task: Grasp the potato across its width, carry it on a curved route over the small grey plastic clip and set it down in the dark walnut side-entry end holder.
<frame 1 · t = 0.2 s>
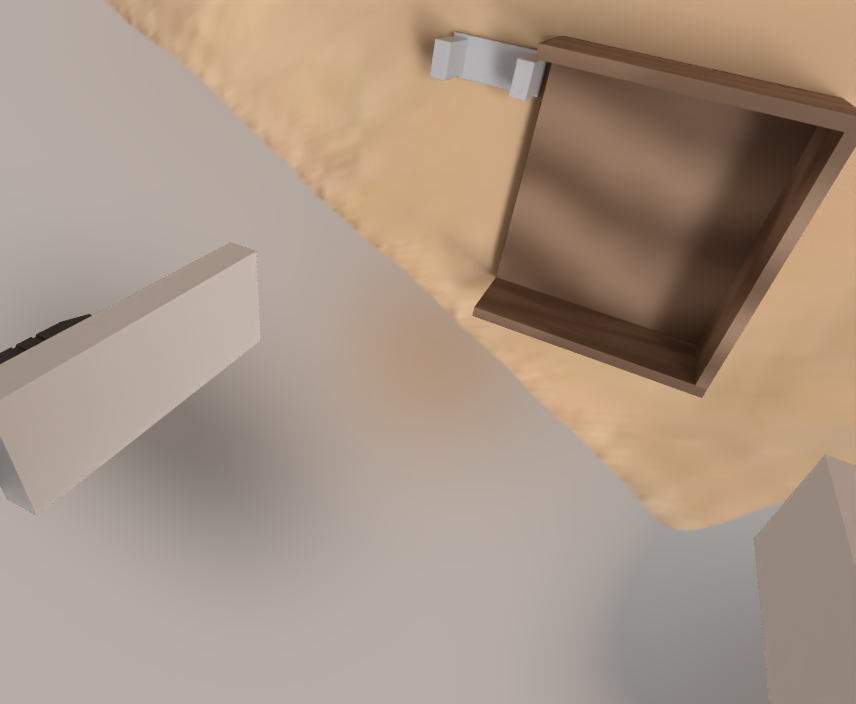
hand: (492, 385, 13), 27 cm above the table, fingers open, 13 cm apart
clip: (498, 63, 34), on the table
holder: (606, 196, 36), on the table
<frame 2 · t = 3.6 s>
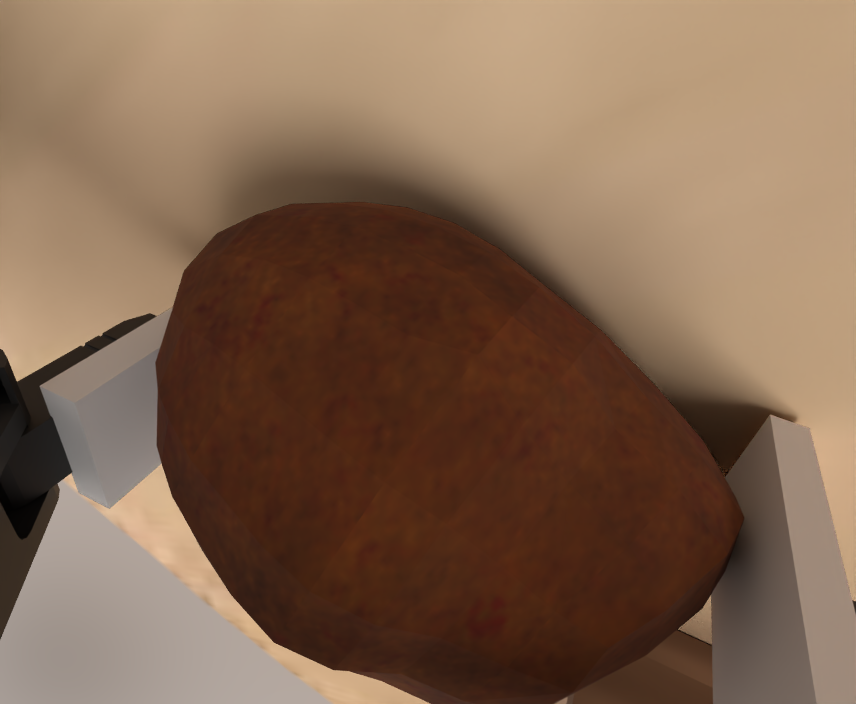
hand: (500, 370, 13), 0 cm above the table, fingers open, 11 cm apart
potato: (497, 355, 14), on the table
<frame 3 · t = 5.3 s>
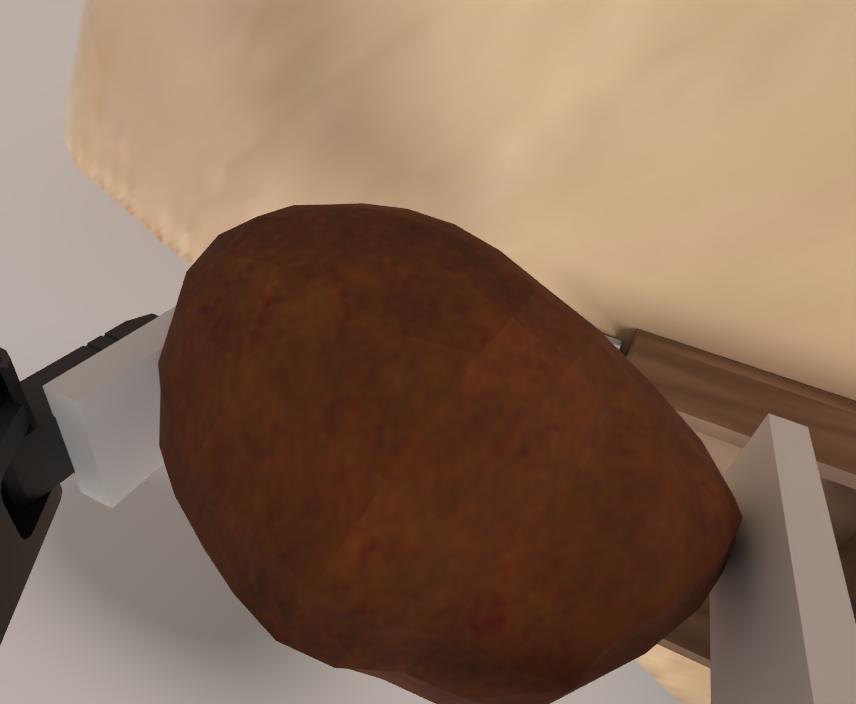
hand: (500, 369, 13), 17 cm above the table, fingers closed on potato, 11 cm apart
holder: (677, 468, 33), on the table
potato: (497, 356, 14), point 17 cm above the table, touching gripper
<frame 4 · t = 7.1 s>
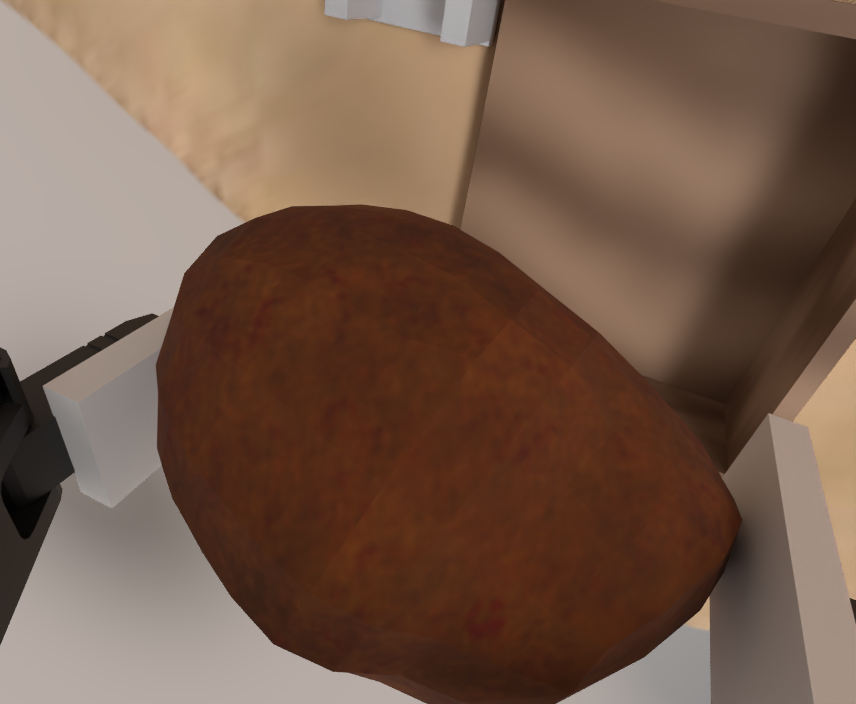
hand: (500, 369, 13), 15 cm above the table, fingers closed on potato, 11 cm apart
holder: (594, 193, 25), on the table
potato: (496, 357, 14), point 14 cm above the table, touching gripper
when the fingers open (3 cm above the table, at t = 10.0 s): potato drops 2 cm, resting on holder.
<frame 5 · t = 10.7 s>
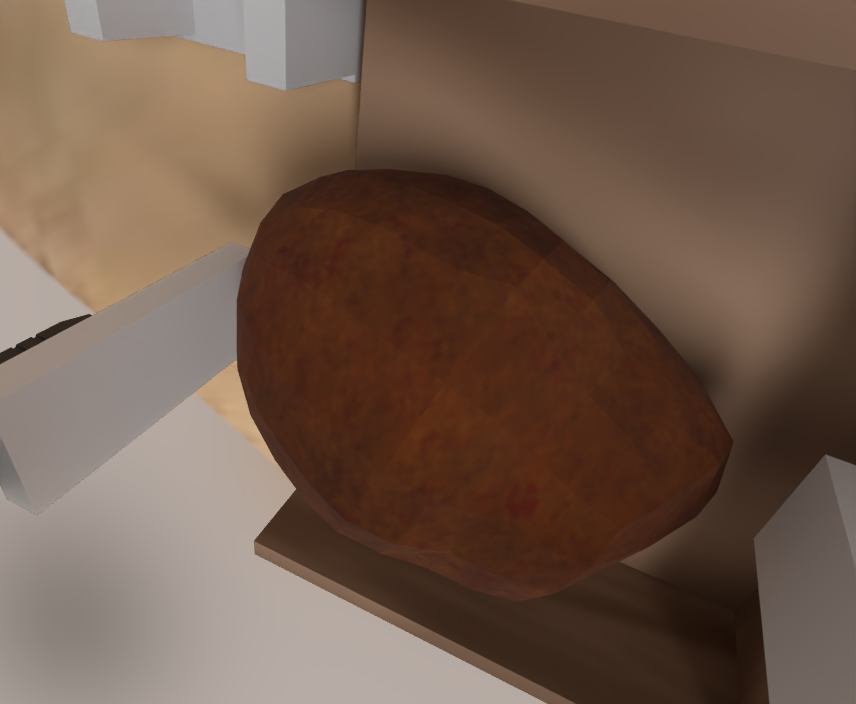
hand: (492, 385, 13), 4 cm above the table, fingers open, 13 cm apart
clip: (269, 5, 14), on the table
holder: (534, 305, 16), on the table
potato: (516, 315, 15), point 1 cm above the table, touching holder
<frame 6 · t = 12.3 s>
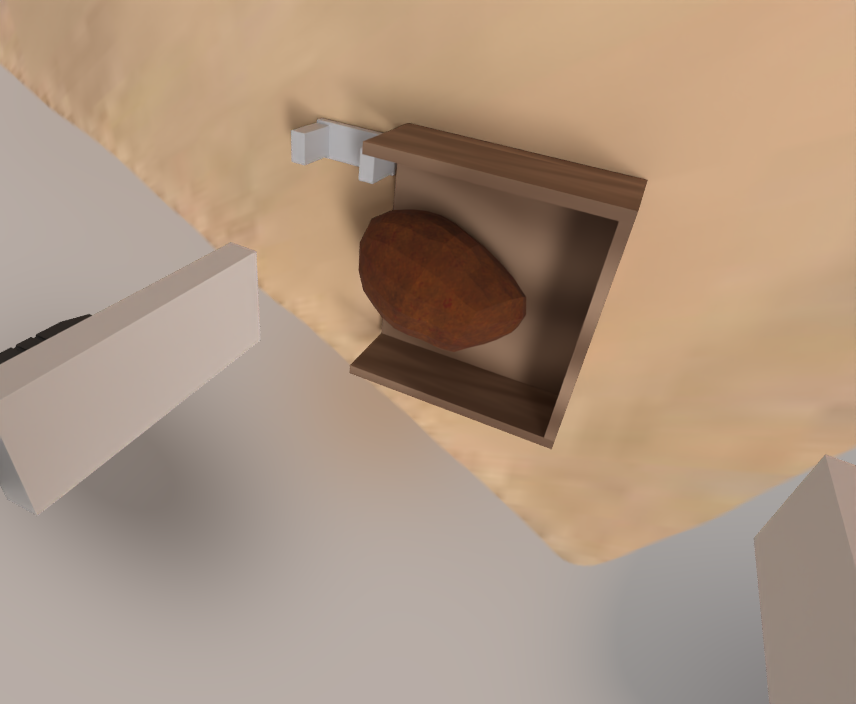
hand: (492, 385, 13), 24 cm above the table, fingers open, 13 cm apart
clip: (359, 145, 37), on the table
holder: (466, 261, 39), on the table
potato: (458, 264, 38), point 1 cm above the table, touching holder
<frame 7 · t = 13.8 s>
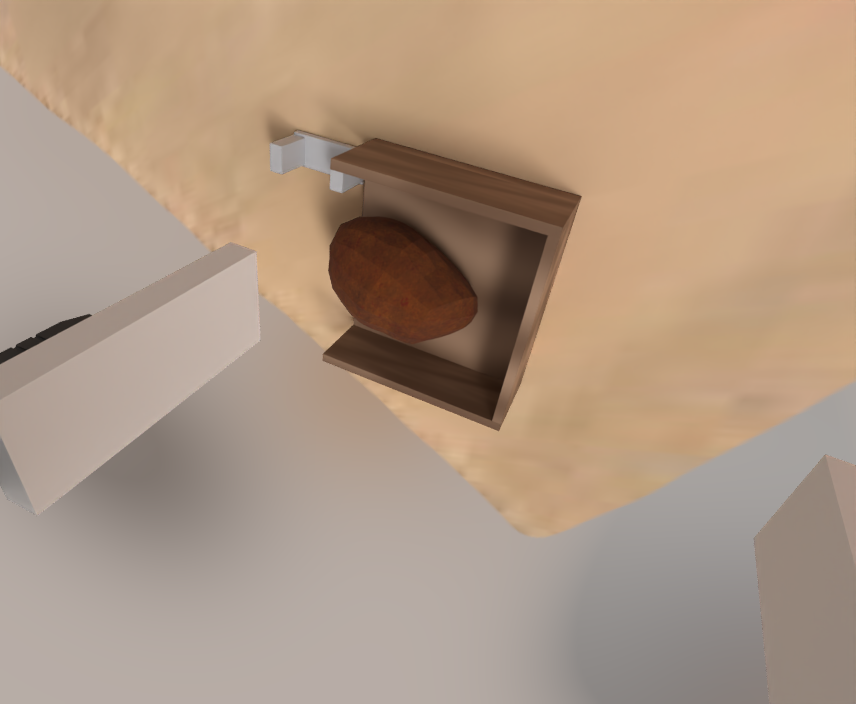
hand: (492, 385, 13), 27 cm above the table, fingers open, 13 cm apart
clip: (332, 156, 41), on the table
holder: (428, 262, 43), on the table
potato: (420, 265, 42), point 1 cm above the table, touching holder
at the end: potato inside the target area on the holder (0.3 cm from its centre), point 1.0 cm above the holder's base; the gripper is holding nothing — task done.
